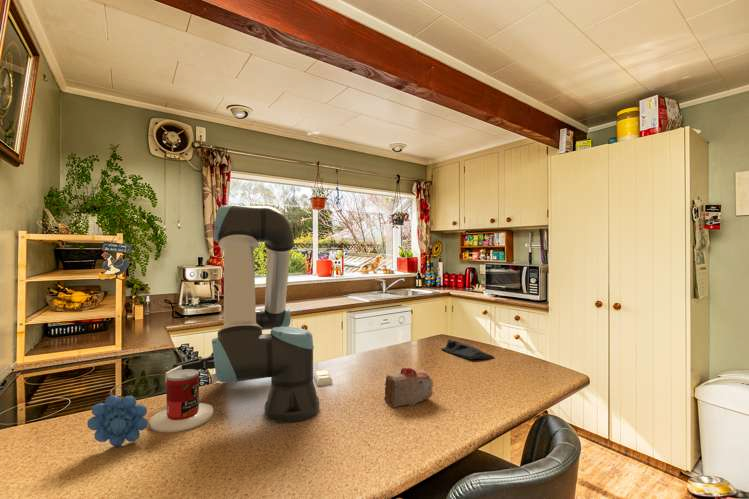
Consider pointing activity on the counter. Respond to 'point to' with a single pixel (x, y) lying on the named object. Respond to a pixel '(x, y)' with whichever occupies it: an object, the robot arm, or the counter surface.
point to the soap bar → (322, 378)
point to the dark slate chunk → (465, 351)
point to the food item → (407, 387)
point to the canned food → (182, 394)
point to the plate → (167, 425)
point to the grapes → (118, 420)
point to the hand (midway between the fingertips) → (189, 378)
